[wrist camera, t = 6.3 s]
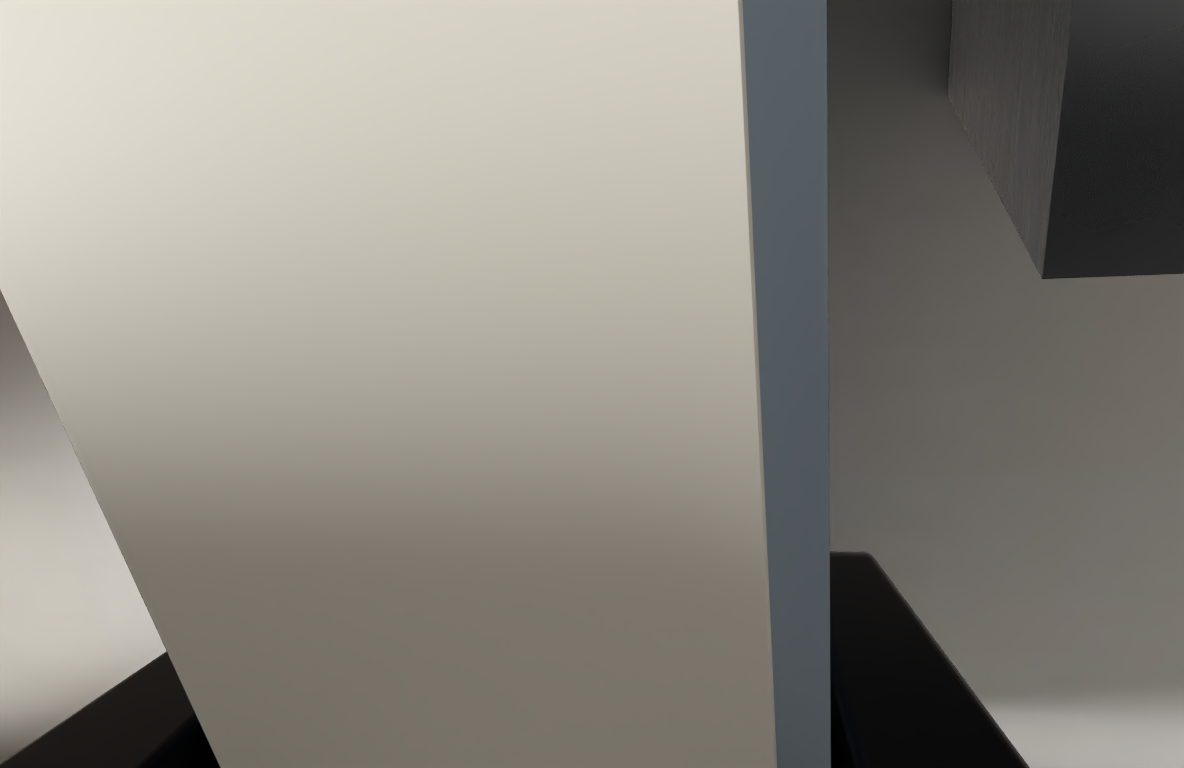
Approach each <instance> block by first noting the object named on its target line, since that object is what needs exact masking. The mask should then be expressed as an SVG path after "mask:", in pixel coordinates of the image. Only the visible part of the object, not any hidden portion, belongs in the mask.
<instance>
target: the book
mask: <svg viewBox="0 0 1184 768" xmlns="http://www.w3.org/2000/svg"><path fill="white" fill-rule="evenodd" d="M0 290H1V292H2V294H3V296H4V299H5V301H6V303H7V305H8V307H9V309H10V312H11V314H12V316H13V318H14V320H15V322H16V325H17V327H18V329H19V331H20V333H21V335H22V338H23V340H24V342H25V344H26V346H27V349H28V351H29V353H30V355H31V357H32V359H33V362H34V364H35V366H36V368H37V370H38V372H39V375H40V377H41V379H42V381H43V383H44V385H45V388H46V390H47V392H48V394H49V396H50V398H51V401H52V403H53V405H54V407H55V409H56V411H57V414H58V416H59V418H60V420H61V422H62V425H63V427H64V429H65V431H66V433H67V435H68V438H69V440H70V442H71V444H72V446H73V448H74V451H75V453H76V455H77V457H78V459H79V461H80V464H81V466H82V468H83V470H84V472H85V474H86V477H87V479H88V481H89V483H90V485H91V488H92V490H93V492H94V494H95V496H96V498H97V501H98V503H99V505H100V507H101V509H102V511H103V514H104V516H105V518H106V520H107V522H108V524H109V527H110V529H111V531H112V533H113V535H114V537H115V540H116V542H117V544H118V546H119V548H120V550H121V553H122V555H123V557H124V559H125V561H126V564H127V566H128V568H129V570H130V572H131V574H132V577H133V579H134V581H135V583H136V585H137V587H138V590H139V592H140V594H141V596H142V598H143V600H144V603H145V605H146V607H147V609H148V611H149V613H150V616H151V618H152V620H153V622H154V624H155V627H156V629H157V631H158V633H159V635H160V637H161V640H162V642H163V644H164V646H165V648H166V650H167V653H168V655H169V657H170V659H171V661H172V663H173V666H174V668H175V670H176V672H177V674H178V676H179V679H180V681H181V683H182V685H183V687H184V689H185V692H186V694H187V696H188V698H189V700H190V703H191V705H192V707H193V709H194V711H195V713H196V716H197V718H198V720H199V722H200V724H201V726H202V729H203V731H204V733H205V735H206V737H207V739H208V742H209V744H210V746H211V748H212V750H213V752H214V755H215V757H216V759H217V761H218V763H219V766H220V768H831V720H830V531H829V342H828V153H827V0H0Z"/></svg>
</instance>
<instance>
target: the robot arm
mask: <svg viewBox="0 0 1184 768" xmlns="http://www.w3.org/2000/svg"><path fill="white" fill-rule="evenodd" d="M830 720H831V768H1030V767H1029V766H1028V765H1027V763H1026V762H1025V761H1024V759H1023V758H1022V757H1021V755H1020V754H1019V753H1018V751H1017V750H1016V749H1015V747H1014V746H1013V745H1012V743H1011V742H1010V740H1009V739H1008V738H1007V736H1006V735H1005V734H1004V732H1003V731H1002V730H1001V728H1000V727H999V726H998V724H997V723H996V722H995V720H994V719H993V718H992V716H991V715H990V713H989V712H988V711H987V709H986V708H985V707H984V705H983V704H982V703H981V701H980V700H979V699H978V697H977V696H976V695H975V693H974V692H973V691H972V689H971V688H970V686H969V685H968V684H967V682H966V681H965V680H964V678H963V677H962V676H961V674H960V673H959V672H958V670H957V669H956V668H955V666H954V665H953V664H952V662H951V661H950V660H949V658H948V657H947V655H946V654H945V653H944V651H943V650H942V649H941V647H940V646H939V645H938V643H937V642H936V641H935V639H934V638H933V637H932V635H931V634H930V633H929V631H928V630H927V628H926V627H925V626H924V624H923V623H922V622H921V620H920V619H919V618H918V616H917V615H916V614H915V612H914V611H913V610H912V608H911V607H910V606H909V604H908V603H907V601H906V600H905V599H904V597H903V596H902V595H901V593H900V592H899V591H898V589H897V588H896V587H895V585H894V584H893V583H892V581H891V580H890V579H889V577H888V576H887V574H886V573H885V572H884V570H883V569H882V568H881V566H880V565H879V564H878V562H877V561H876V560H875V559H874V557H873V556H872V555H870V554H869V553H866V552H837V551H830ZM0 768H220V766H219V763H218V761H217V759H216V757H215V755H214V752H213V750H212V748H211V746H210V744H209V742H208V739H207V737H206V735H205V733H204V731H203V729H202V726H201V724H200V722H199V720H198V718H197V716H196V713H195V711H194V709H193V707H192V705H191V703H190V700H189V698H188V696H187V694H186V692H185V689H184V687H183V685H182V683H181V681H180V679H179V676H178V674H177V672H176V670H175V668H174V666H173V663H172V661H171V659H170V657H169V655H168V653H167V651H166V652H165V653H164V654H162V655H161V656H159V657H158V658H156V659H155V660H153V661H152V662H150V663H149V664H147V665H146V666H144V667H143V668H141V669H140V670H138V671H137V672H135V673H134V674H132V675H131V676H129V677H128V678H127V679H125V680H124V681H122V682H121V683H119V684H118V685H116V686H115V687H113V688H112V689H110V690H109V691H107V692H106V693H104V694H103V695H101V696H100V697H98V698H97V699H95V700H94V701H93V702H91V703H90V704H88V705H87V706H85V707H84V708H82V709H81V710H79V711H78V712H76V713H75V714H73V715H72V716H70V717H69V718H67V719H66V720H64V721H63V722H61V723H60V724H58V725H57V726H56V727H54V728H53V729H51V730H50V731H48V732H47V733H45V734H44V735H42V736H41V737H39V738H38V739H36V740H35V741H33V742H32V743H30V744H29V745H27V746H26V747H24V748H23V749H22V750H20V751H19V752H17V753H16V754H14V755H13V756H11V757H10V758H8V759H7V760H5V761H4V762H2V763H1V764H0Z"/></svg>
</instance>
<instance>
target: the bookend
mask: <svg viewBox="0 0 1184 768" xmlns="http://www.w3.org/2000/svg"><path fill="white" fill-rule="evenodd" d="M948 98H949V100H950V102H951V104H952V106H953V108H954V109H955V111H956V113H957V115H958V117H959V119H960V121H961V123H962V125H963V127H964V129H965V131H966V133H967V135H968V137H969V139H970V140H971V142H972V144H973V146H974V148H975V150H976V152H977V154H978V156H979V158H980V160H981V162H982V164H983V166H984V168H985V170H986V171H987V173H988V175H989V177H990V179H991V181H992V183H993V185H994V187H995V189H996V191H997V193H998V195H999V197H1000V199H1001V200H1002V202H1003V204H1004V206H1005V208H1006V210H1007V212H1008V214H1009V216H1010V218H1011V220H1012V222H1013V224H1014V226H1015V228H1016V230H1017V231H1018V233H1019V235H1020V237H1021V239H1022V241H1023V243H1024V245H1025V247H1026V249H1027V251H1028V253H1029V255H1030V257H1031V259H1032V261H1033V262H1034V264H1035V266H1036V268H1037V270H1038V272H1039V274H1040V276H1041V278H1042V279H1053V278H1080V277H1107V276H1134V275H1161V274H1184V0H953V8H952V26H951V44H950V62H949V80H948Z"/></svg>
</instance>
